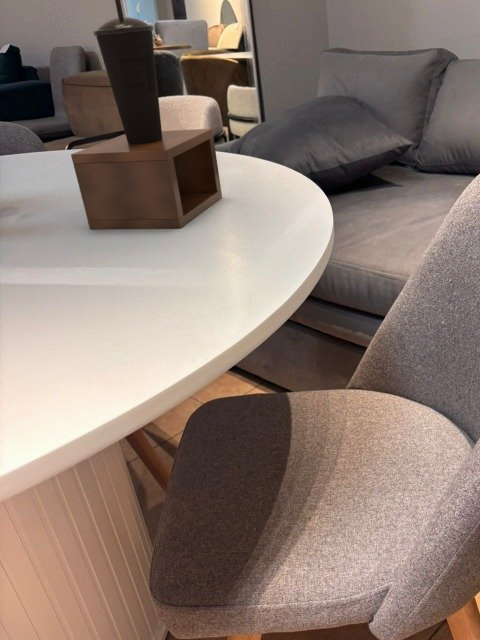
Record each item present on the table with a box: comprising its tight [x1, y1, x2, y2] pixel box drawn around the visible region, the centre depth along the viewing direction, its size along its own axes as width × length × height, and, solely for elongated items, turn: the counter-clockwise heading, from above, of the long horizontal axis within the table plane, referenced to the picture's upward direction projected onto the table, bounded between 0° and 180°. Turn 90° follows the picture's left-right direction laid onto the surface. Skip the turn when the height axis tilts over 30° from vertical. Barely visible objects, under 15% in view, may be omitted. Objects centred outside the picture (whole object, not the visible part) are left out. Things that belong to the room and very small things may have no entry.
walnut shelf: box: [70, 128, 223, 230], centre depth 92 cm, size 14×16×10 cm
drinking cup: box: [92, 0, 163, 144], centre depth 84 cm, size 8×8×20 cm
